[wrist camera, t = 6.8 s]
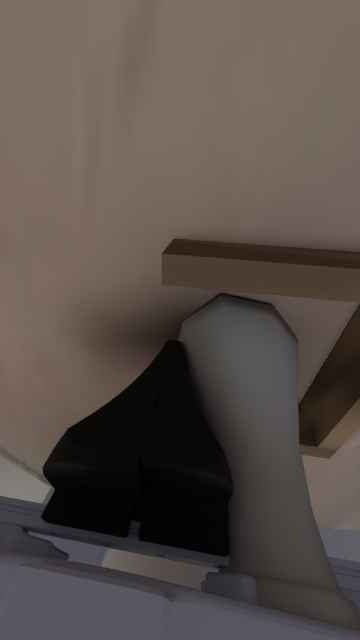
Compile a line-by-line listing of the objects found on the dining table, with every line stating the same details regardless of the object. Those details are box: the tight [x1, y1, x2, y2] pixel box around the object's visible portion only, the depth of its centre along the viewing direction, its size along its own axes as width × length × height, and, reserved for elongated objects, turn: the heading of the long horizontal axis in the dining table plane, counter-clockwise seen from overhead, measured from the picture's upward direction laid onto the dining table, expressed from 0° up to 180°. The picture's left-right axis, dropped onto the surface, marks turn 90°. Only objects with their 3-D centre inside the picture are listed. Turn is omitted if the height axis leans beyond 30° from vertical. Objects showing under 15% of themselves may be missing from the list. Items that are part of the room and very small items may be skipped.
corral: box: [162, 239, 360, 459], centre depth 11 cm, size 12×11×3 cm
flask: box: [178, 295, 360, 631], centre depth 9 cm, size 7×7×10 cm
